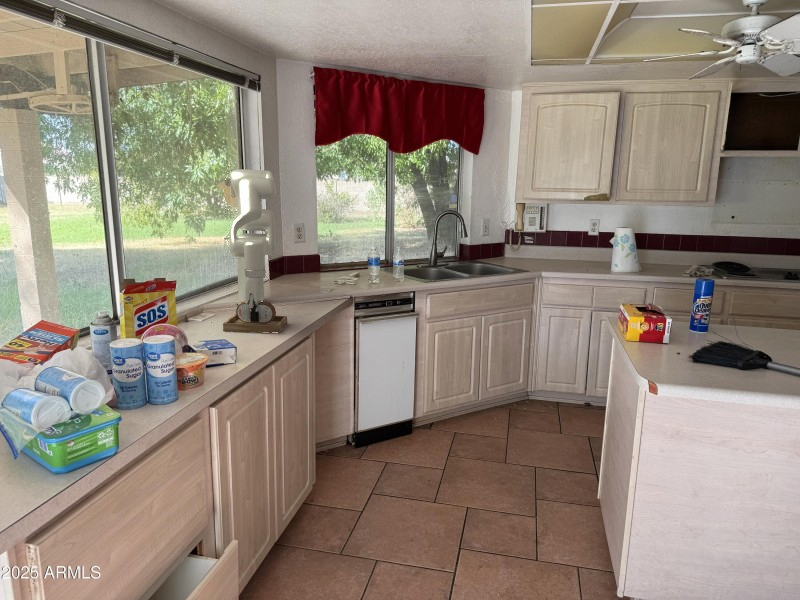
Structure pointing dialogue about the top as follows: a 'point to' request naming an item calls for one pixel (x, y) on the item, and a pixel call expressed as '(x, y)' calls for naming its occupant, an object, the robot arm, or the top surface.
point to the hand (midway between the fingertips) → (255, 319)
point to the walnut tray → (254, 325)
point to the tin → (265, 312)
